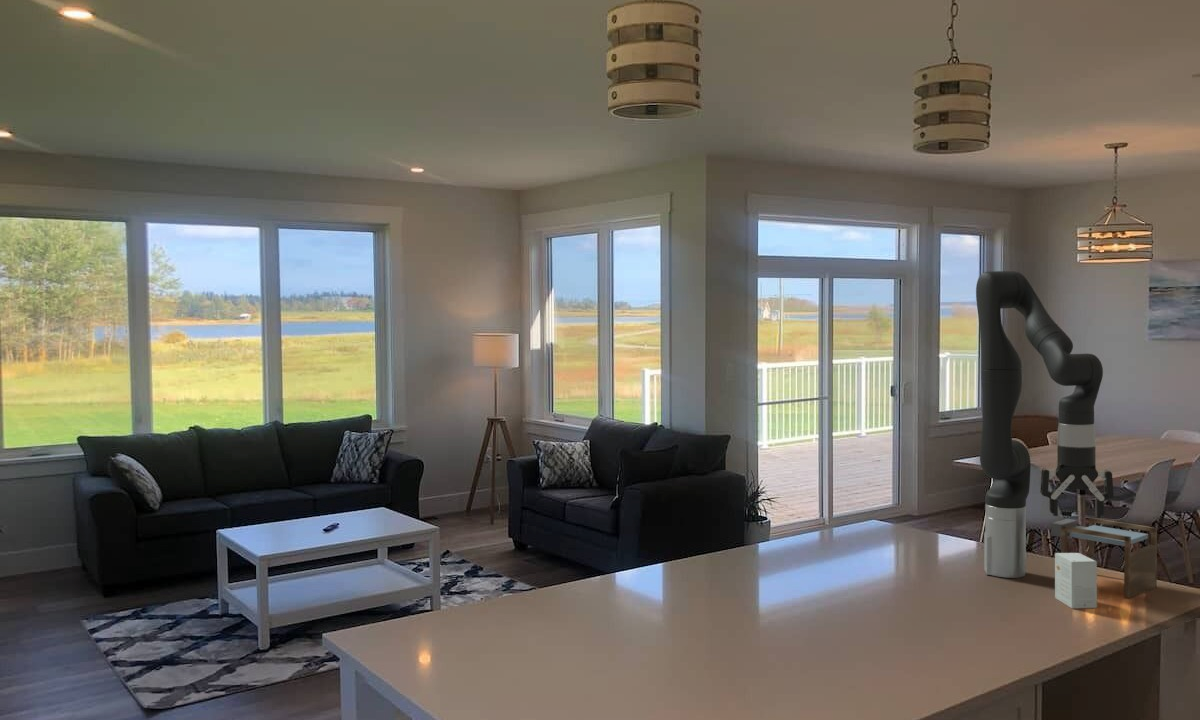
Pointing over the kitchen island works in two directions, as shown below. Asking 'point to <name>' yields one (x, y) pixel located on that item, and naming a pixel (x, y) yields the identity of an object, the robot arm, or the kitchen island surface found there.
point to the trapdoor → (1073, 523)
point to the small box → (1076, 580)
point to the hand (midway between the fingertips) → (1076, 516)
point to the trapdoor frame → (1126, 556)
